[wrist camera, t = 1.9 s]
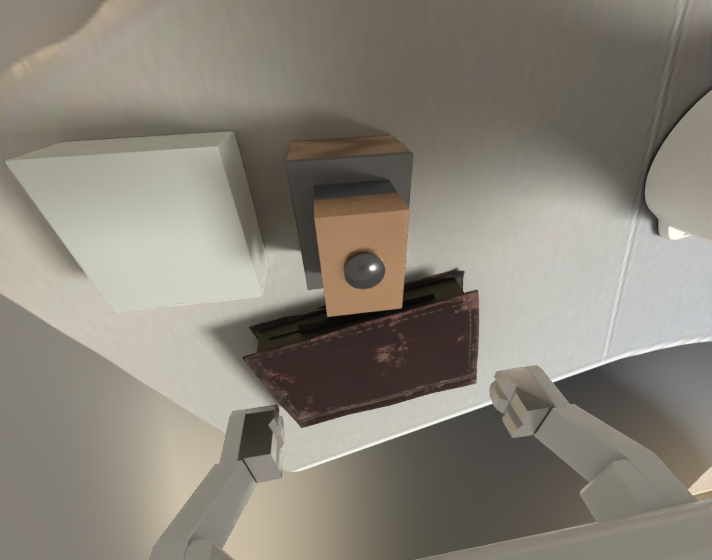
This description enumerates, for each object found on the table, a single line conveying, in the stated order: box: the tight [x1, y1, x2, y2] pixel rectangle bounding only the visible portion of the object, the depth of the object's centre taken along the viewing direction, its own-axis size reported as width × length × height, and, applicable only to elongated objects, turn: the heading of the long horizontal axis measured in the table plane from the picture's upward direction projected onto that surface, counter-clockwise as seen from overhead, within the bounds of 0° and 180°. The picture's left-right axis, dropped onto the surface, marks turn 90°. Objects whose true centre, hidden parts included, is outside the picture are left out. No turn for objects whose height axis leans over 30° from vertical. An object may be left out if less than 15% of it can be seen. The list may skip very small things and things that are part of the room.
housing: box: [313, 179, 410, 317], centre depth 19 cm, size 5×7×5 cm
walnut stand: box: [286, 135, 413, 290], centre depth 24 cm, size 8×10×6 cm
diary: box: [242, 271, 479, 428], centre depth 37 cm, size 19×25×5 cm
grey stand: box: [4, 131, 269, 313], centre depth 23 cm, size 12×12×5 cm
